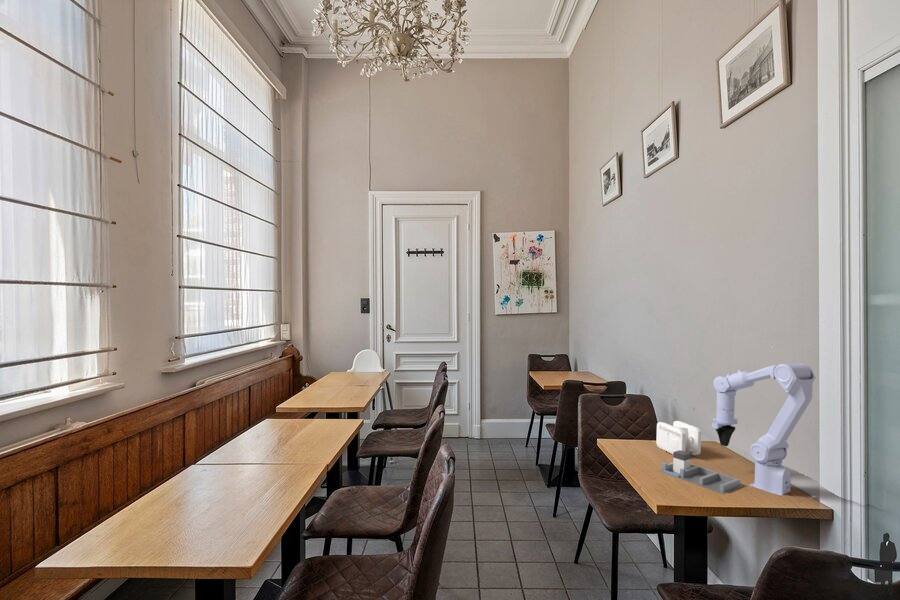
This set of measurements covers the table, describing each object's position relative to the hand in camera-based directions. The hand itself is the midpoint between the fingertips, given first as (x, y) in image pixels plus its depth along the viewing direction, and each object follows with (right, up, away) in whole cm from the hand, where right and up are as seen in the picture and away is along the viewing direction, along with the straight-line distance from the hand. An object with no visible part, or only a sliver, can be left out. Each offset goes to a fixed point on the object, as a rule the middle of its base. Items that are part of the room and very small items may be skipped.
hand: (724, 445), depth 169 cm
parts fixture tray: (-14, -9, -9) cm, 19 cm away
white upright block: (-18, -8, -4) cm, 20 cm away
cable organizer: (-8, -9, +19) cm, 23 cm away
